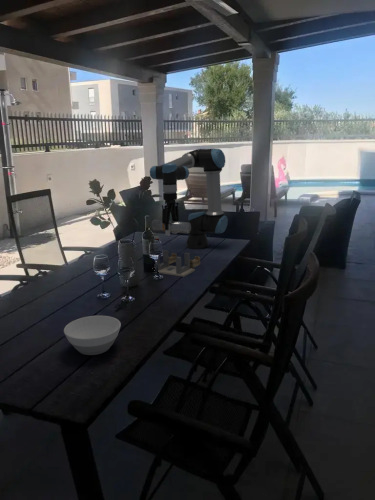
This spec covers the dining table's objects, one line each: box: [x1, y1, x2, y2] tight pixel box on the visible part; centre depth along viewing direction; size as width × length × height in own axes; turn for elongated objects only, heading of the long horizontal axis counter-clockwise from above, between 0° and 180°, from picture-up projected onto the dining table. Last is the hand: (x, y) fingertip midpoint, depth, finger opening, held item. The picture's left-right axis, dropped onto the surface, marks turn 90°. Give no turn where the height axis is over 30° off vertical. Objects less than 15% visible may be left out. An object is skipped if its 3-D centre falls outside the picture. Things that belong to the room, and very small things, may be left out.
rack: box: [168, 252, 201, 269], centre depth 251 cm, size 19×9×4 cm, turn 60°
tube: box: [150, 219, 191, 235], centre depth 236 cm, size 22×6×6 cm, turn 60°
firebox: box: [153, 249, 196, 278], centre depth 238 cm, size 22×12×10 cm, turn 60°
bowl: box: [63, 315, 122, 356], centre depth 151 cm, size 20×20×8 cm
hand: (171, 234), depth 237 cm, fingers closed on tube, 6 cm apart
